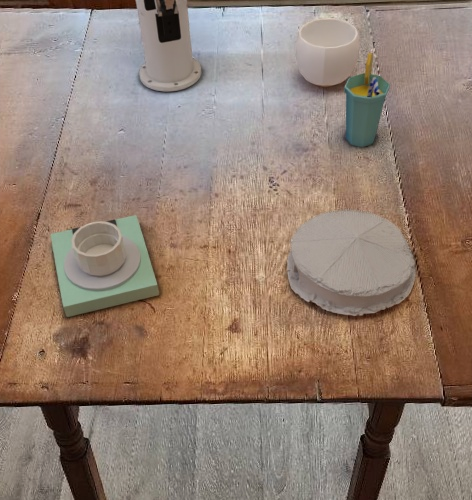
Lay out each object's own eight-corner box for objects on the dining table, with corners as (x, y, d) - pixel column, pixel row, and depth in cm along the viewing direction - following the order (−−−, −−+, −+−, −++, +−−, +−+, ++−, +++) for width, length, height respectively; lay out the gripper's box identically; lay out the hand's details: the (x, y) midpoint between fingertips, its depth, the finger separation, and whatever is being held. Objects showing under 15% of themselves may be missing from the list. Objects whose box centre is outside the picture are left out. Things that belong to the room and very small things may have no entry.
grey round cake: (264, 245, 108) (263, 213, 102) (375, 210, 112) (380, 177, 106) (320, 337, 96) (323, 306, 91) (441, 294, 100) (451, 262, 95)
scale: (53, 244, 109) (49, 231, 107) (138, 225, 111) (136, 211, 109) (66, 317, 100) (61, 304, 98) (159, 295, 102) (156, 281, 100)
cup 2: (389, 164, 119) (402, 87, 107) (344, 166, 119) (353, 89, 107) (376, 117, 127) (387, 40, 115) (335, 119, 127) (342, 43, 115)
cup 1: (358, 64, 139) (363, 17, 131) (353, 98, 131) (359, 51, 124) (298, 60, 140) (299, 14, 133) (290, 94, 133) (291, 47, 125)
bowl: (75, 249, 104) (68, 227, 101) (121, 238, 105) (116, 216, 102) (82, 282, 100) (75, 261, 96) (130, 271, 101) (125, 249, 98)
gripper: (105, -128, 90) (126, 1, 104) (129, -77, 80) (149, 58, 94) (160, -136, 91) (174, -7, 105) (191, -87, 81) (202, 48, 95)
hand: (162, 23), depth 99 cm, fingers open, 9 cm apart
